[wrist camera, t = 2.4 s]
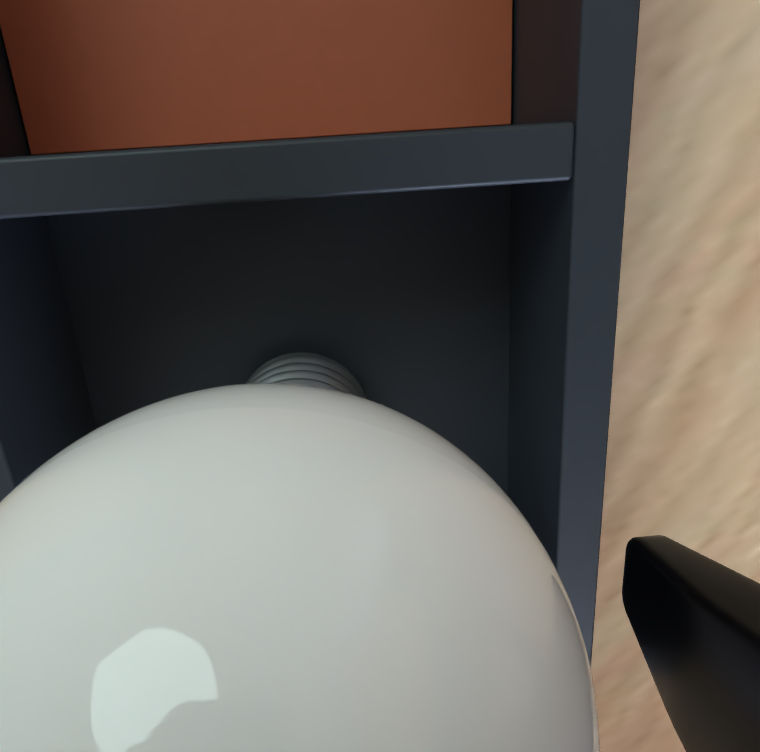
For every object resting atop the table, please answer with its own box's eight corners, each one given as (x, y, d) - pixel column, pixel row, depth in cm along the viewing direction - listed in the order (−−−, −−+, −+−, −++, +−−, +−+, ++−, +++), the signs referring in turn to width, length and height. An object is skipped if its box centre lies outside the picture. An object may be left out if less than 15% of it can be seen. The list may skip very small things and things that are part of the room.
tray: (114, 609, 16) (48, 746, 12) (-200, -604, 8) (-591, -1148, 5) (533, 570, 16) (589, 691, 12) (569, -616, 9) (725, -1126, 5)
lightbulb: (336, 569, 15) (332, 1458, 5) (99, 430, 14) (-645, 1324, 3) (507, 372, 14) (1021, 1053, 3) (265, 189, 12) (-157, 436, 2)
